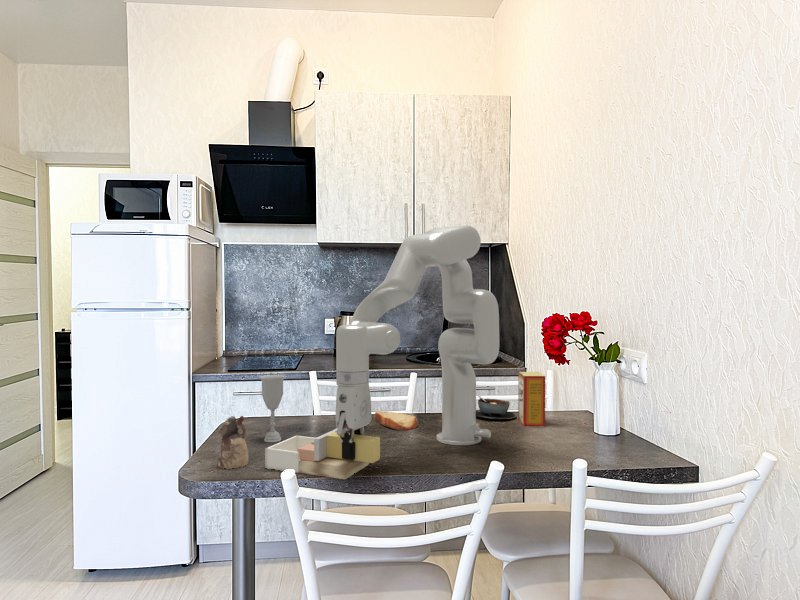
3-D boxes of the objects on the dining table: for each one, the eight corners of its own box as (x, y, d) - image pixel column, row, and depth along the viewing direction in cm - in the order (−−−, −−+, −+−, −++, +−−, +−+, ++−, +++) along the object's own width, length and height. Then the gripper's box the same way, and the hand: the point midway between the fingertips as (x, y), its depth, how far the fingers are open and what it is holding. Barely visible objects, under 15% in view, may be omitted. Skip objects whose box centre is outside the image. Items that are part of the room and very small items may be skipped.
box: (326, 458, 146) (326, 439, 145) (297, 474, 133) (297, 452, 133) (296, 454, 149) (296, 435, 149) (265, 469, 137) (265, 448, 137)
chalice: (267, 436, 168) (266, 374, 167) (289, 437, 166) (288, 375, 166) (255, 443, 160) (255, 378, 160) (278, 444, 159) (278, 379, 159)
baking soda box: (518, 419, 189) (518, 370, 189) (538, 419, 189) (538, 370, 189) (523, 426, 180) (524, 375, 180) (545, 426, 180) (545, 375, 179)
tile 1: (324, 456, 137) (324, 446, 137) (314, 461, 133) (314, 450, 133) (307, 454, 139) (307, 443, 139) (297, 459, 135) (297, 448, 135)
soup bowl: (481, 423, 185) (481, 400, 184) (463, 413, 200) (463, 392, 200) (524, 421, 188) (524, 398, 188) (503, 411, 204) (503, 390, 204)
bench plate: (368, 465, 140) (368, 452, 140) (345, 480, 129) (345, 466, 129) (325, 459, 145) (325, 447, 145) (299, 473, 134) (299, 460, 134)
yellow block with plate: (386, 454, 138) (386, 433, 138) (366, 467, 128) (366, 445, 128) (337, 448, 143) (337, 428, 143) (314, 460, 133) (314, 438, 133)
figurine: (221, 461, 143) (221, 413, 143) (251, 461, 144) (250, 412, 144) (214, 470, 136) (214, 419, 136) (245, 469, 137) (245, 419, 137)
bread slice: (377, 416, 196) (377, 405, 196) (428, 420, 190) (428, 409, 190) (356, 428, 179) (356, 416, 179) (411, 433, 173) (411, 420, 173)
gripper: (350, 384, 126) (350, 468, 126) (382, 374, 141) (382, 449, 141) (320, 382, 129) (320, 464, 129) (354, 372, 144) (354, 446, 144)
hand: (352, 455), depth 135 cm, fingers closed on yellow block with plate, 3 cm apart
